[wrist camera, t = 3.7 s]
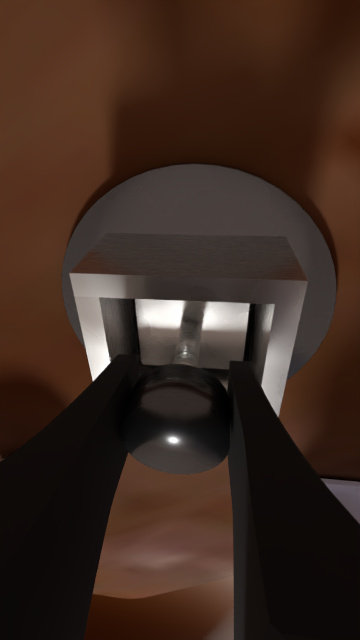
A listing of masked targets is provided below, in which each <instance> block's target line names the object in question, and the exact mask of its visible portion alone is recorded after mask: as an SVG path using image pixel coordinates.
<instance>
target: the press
mask: <svg viewBox="0 0 360 640" xmlns="http://www.w3.org/2000/svg"><path fill="white" fill-rule="evenodd" d="M62 292H63V298H64V304H65V308H66V311H67V314H68V318H69V320H70V323H71V325H72V327H73V329H74V331H75V333H76V335H77V337H78V338H79V340H80V341H81V343H82V345H83V346H84V347H85V349H86V352H87V356H88V361H89V366H90V370H91V375H92V379H93V381H94V380H95V379H96V378H97V377H98V376H99V374H100V373H101V372H102V371H103V370H104V369H105V368H106V367H107V366H108V365H109V363H110V362H111V361H112V360H113V359H114V358H115V357H116V356H117V355H118V354H126V355H137V363H138V372H139V378H140V376H142V375H143V374H144V373H145V372H147V371H148V370H150V369H152V368H154V367H157V366H161V365H146V364H142V363H141V353H140V344H139V334H138V325H137V315H136V306H135V299H153V300H179V301H204V302H229V303H250V306H249V314H248V323H247V331H246V340H245V349H244V357H243V361H248V362H250V363H251V364H252V366H253V368H254V371H255V373H256V376H257V378H258V380H259V382H260V385H261V387H262V389H263V391H264V393H265V395H266V397H267V398H268V400H269V402H270V404H271V406H272V407H273V409H274V411H275V413H276V414H277V416H279V411H280V406H281V402H282V397H283V393H284V388H285V384H286V380H287V379H289V378H290V377H291V376H292V375H294V374H295V373H296V372H297V371H299V370H300V369H301V368H302V367H303V366H304V365H305V364H306V363H307V362H308V360H309V359H310V358H311V357H312V356H313V354H314V353H315V352H316V350H317V349H318V348H319V346H320V344H321V343H322V341H323V339H324V337H325V335H326V333H327V331H328V328H329V326H330V323H331V320H332V318H333V313H334V308H335V303H336V276H335V268H334V264H333V261H332V257H331V254H330V250H329V248H328V246H327V244H326V242H325V240H324V238H323V235H322V233H321V232H320V230H319V229H318V228H317V226H316V225H315V223H314V222H313V220H312V219H311V217H310V216H309V215H308V214H307V213H306V212H305V210H304V209H303V208H302V207H301V206H300V205H299V204H298V203H297V202H296V201H295V200H294V199H293V198H292V197H290V196H289V195H288V194H286V193H285V192H284V191H282V190H281V189H280V188H279V187H277V186H275V185H274V184H272V183H270V182H268V181H266V180H265V179H263V178H261V177H259V176H257V175H254V174H251V173H249V172H246V171H243V170H241V169H238V168H233V167H228V166H224V165H219V164H209V163H182V164H172V165H167V166H163V167H158V168H154V169H151V170H148V171H146V172H143V173H140V174H138V175H135V176H133V177H131V178H129V179H128V180H126V181H124V182H122V183H121V184H119V185H117V186H115V187H114V188H113V189H111V190H110V191H109V192H108V193H106V194H105V195H104V196H103V197H101V198H100V199H99V200H98V201H97V202H96V203H95V204H94V205H93V206H92V207H91V208H90V209H89V210H88V211H87V213H86V214H85V215H84V217H83V218H82V220H81V221H80V223H79V224H78V226H77V227H76V229H75V231H74V233H73V235H72V237H71V239H70V242H69V244H68V247H67V250H66V254H65V258H64V263H63V271H62ZM201 369H203V370H205V371H207V372H209V373H211V374H212V375H213V376H215V377H216V378H217V379H218V380H219V381H220V382H221V383H222V384H223V385H224V387H225V389H226V390H227V386H228V375H229V369H213V368H201Z"/></svg>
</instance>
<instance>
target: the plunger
mask: <svg viewBox="0 0 360 640" xmlns="http://www.w3.org/2000/svg"><path fill="white" fill-rule="evenodd" d="M135 306H136V315H137V325H138V334H139V344H140V353H141V363H142V364H146V365H161V366H157V367H154V368H152V369H150V370H148V371H147V372H145V373H144V374H143V375H142V376H140V378H139V379H138V380H137V382H136V384H135V386H134V389H133V392H132V395H131V398H130V402H129V405H128V408H127V411H126V414H125V417H124V421H123V424H122V427H121V440H122V443H123V445H124V447H125V448H126V450H127V451H128V452H129V453H130V454H131V455H132V456H133V457H134V458H135V459H136V460H138V461H139V462H141V463H143V464H144V465H146V466H148V467H151V468H153V469H156V470H159V471H163V472H167V473H174V474H194V473H199V472H203V471H207V470H209V469H212V468H214V467H215V466H217V465H218V464H220V463H221V462H222V461H223V460H224V459H225V458H226V456H227V454H228V452H229V449H230V419H229V397H228V393H227V390H226V389H225V387H224V385H223V384H222V383H221V382H220V381H219V380H218V379H217V378H216V377H215V376H213V375H212V374H211V373H209V372H207V371H205V370H203V369H201V368H213V369H229V364H230V360H231V361H243V357H244V349H245V340H246V331H247V323H248V314H249V306H250V303H229V302H204V301H179V300H153V299H135Z"/></svg>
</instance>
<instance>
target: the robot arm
mask: <svg viewBox="0 0 360 640" xmlns="http://www.w3.org/2000/svg"><path fill="white" fill-rule="evenodd" d="M138 379H139V372H138V363H137V355H126V354H118V355H117V356H116V357H115V358H114V359H113V360H112V361H111V362H110V363H109V365H108V366H107V367H106V368H105V369H104V370H103V371H102V372H101V373H100V374H99V376H98V377H97V378H96V379H95V380H94V381H93V382H92V383H91V384H90V385H89V386H88V387H87V388H86V389H85V390H84V391H83V392H82V393H81V394H80V395H79V396H78V397H77V398H76V399H75V400H74V401H73V402H72V403H71V404H70V405H69V406H68V407H67V408H66V409H65V410H64V411H63V412H61V413H60V414H59V415H58V416H57V417H56V418H55V419H54V420H53V421H52V422H51V423H49V424H48V425H47V426H46V427H45V428H44V429H42V430H41V431H40V432H39V433H38V434H36V435H35V436H34V437H33V438H31V439H30V440H29V441H28V442H26V443H25V444H24V445H23V446H21V447H20V448H19V449H17V450H16V451H15V452H13V453H12V454H10V455H9V456H8V457H6V458H5V459H3V460H2V461H1V462H0V640H84V635H85V630H86V624H87V619H88V613H89V608H90V604H91V598H92V593H93V588H94V583H95V578H96V573H97V569H98V564H99V559H100V554H101V550H102V545H103V540H104V536H105V531H106V527H107V523H108V518H109V514H110V509H111V505H112V502H113V498H114V495H115V491H116V488H117V485H118V482H119V479H120V476H121V473H122V470H123V467H124V464H125V461H126V457H127V454H128V451H127V450H126V448H125V447H124V445H123V443H122V440H121V427H122V424H123V421H124V417H125V414H126V411H127V408H128V405H129V402H130V398H131V395H132V392H133V389H134V386H135V384H136V382H137V380H138ZM227 393H228V397H229V419H230V449H229V452H228V465H229V475H230V486H231V496H232V508H233V548H234V640H360V482H356V481H345V480H334V479H323V478H320V477H319V476H318V474H317V473H316V472H315V471H314V469H313V468H312V467H311V465H310V464H309V463H308V461H307V460H306V459H305V457H304V456H303V454H302V453H301V452H300V450H299V449H298V447H297V446H296V444H295V443H294V441H293V440H292V438H291V437H290V435H289V434H288V432H287V431H286V429H285V428H284V426H283V424H282V423H281V421H280V420H279V418H278V416H277V414H276V413H275V411H274V409H273V407H272V406H271V404H270V402H269V400H268V398H267V397H266V395H265V393H264V391H263V389H262V387H261V385H260V382H259V380H258V378H257V376H256V373H255V371H254V368H253V366H252V364H251V363H250V362H248V361H231V360H230V364H229V375H228V386H227Z"/></svg>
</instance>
